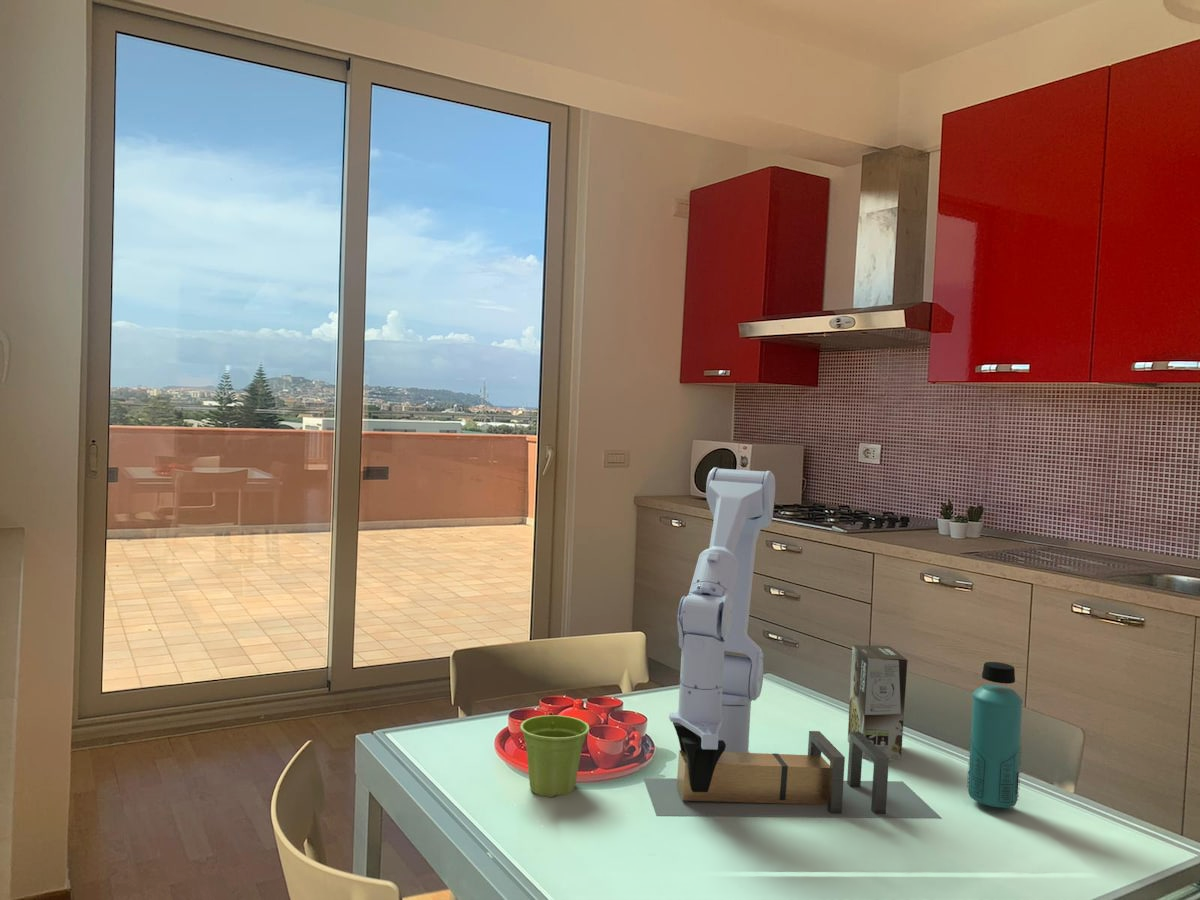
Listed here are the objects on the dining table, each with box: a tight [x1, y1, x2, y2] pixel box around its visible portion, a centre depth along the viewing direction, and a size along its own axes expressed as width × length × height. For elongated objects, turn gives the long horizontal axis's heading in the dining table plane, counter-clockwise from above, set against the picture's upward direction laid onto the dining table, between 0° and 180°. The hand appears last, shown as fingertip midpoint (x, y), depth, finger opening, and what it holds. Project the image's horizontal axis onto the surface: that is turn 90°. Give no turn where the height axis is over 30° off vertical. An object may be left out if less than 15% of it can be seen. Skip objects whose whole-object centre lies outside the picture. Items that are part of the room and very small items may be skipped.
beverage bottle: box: [966, 661, 1023, 808], centre depth 122 cm, size 6×7×20 cm
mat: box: [643, 777, 943, 819], centre depth 121 cm, size 38×12×1 cm, turn 95°
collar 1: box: [807, 730, 846, 814], centre depth 122 cm, size 2×10×8 cm, turn 5°
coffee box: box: [847, 644, 909, 761], centre depth 142 cm, size 9×6×16 cm
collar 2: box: [846, 732, 890, 814], centre depth 122 cm, size 2×10×8 cm, turn 5°
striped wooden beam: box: [676, 749, 830, 805], centre depth 121 cm, size 20×5×5 cm, turn 95°
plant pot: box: [519, 714, 590, 798], centre depth 121 cm, size 9×9×9 cm
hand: (695, 783), depth 120 cm, fingers closed on striped wooden beam, 4 cm apart
